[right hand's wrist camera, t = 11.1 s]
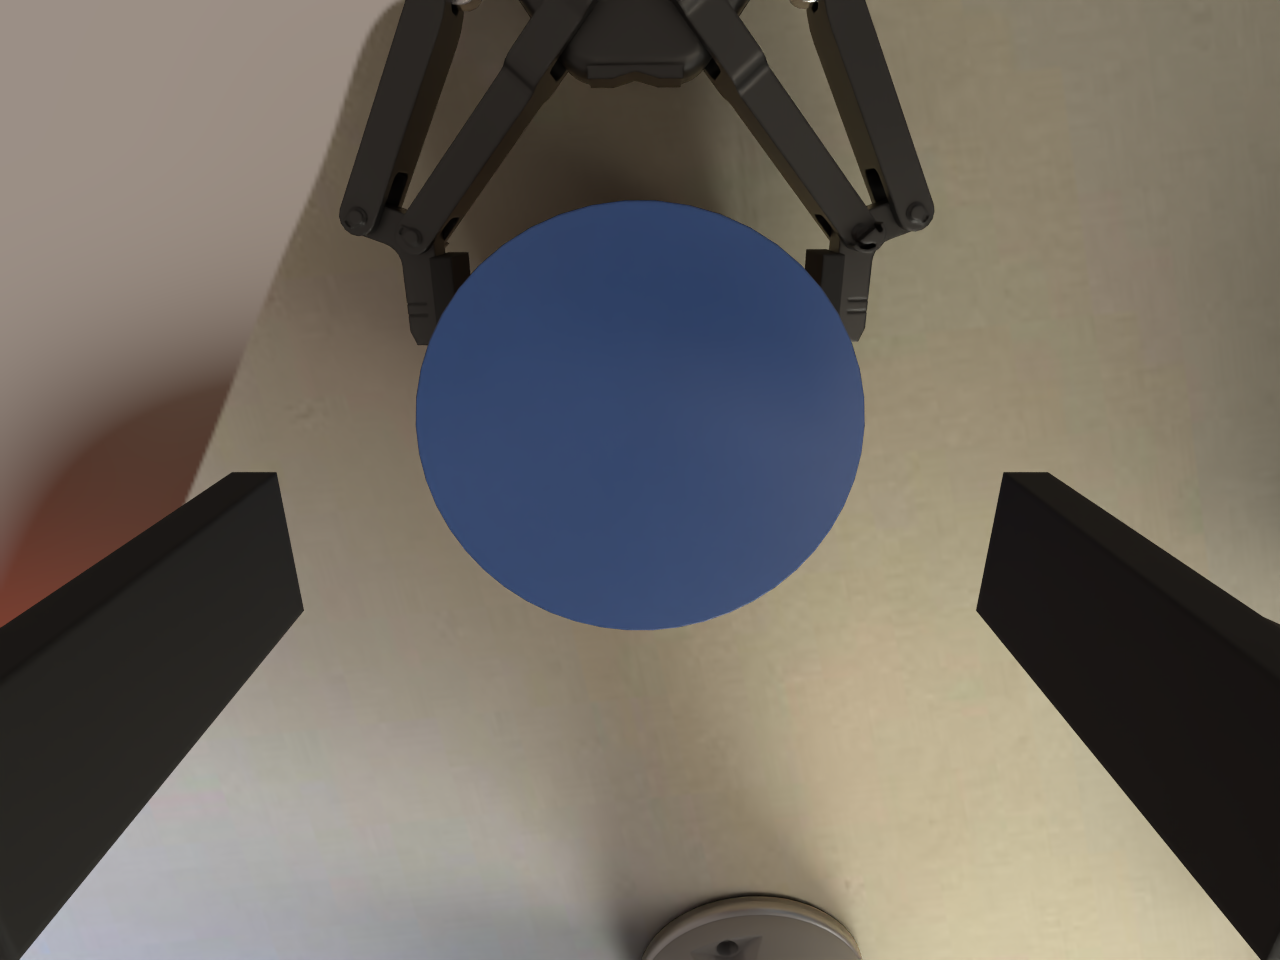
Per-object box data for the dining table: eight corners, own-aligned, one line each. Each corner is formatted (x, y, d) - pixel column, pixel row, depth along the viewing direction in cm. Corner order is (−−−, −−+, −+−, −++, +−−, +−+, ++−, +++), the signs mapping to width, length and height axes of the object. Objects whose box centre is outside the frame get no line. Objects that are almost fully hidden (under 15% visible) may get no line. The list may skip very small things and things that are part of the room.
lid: (704, 103, 17) (713, 89, 15) (909, 466, 21) (940, 497, 19) (354, 359, 20) (319, 379, 17) (591, 648, 23) (586, 694, 21)
